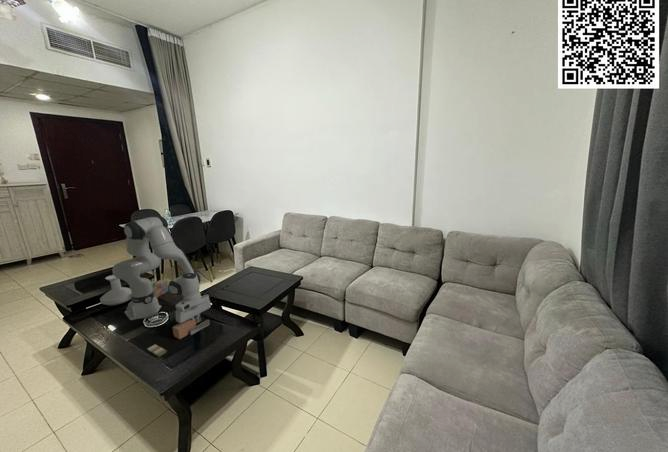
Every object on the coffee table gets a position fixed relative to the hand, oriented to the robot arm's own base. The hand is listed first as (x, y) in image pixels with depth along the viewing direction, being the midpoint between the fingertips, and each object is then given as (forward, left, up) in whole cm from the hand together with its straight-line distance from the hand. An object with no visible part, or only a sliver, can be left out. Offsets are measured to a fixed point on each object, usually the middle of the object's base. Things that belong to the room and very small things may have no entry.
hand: (195, 321), depth 156 cm
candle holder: (-84, -5, -5) cm, 84 cm away
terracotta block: (0, -7, -3) cm, 8 cm away
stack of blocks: (-67, +11, -5) cm, 68 cm away
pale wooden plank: (0, -9, -4) cm, 10 cm away
